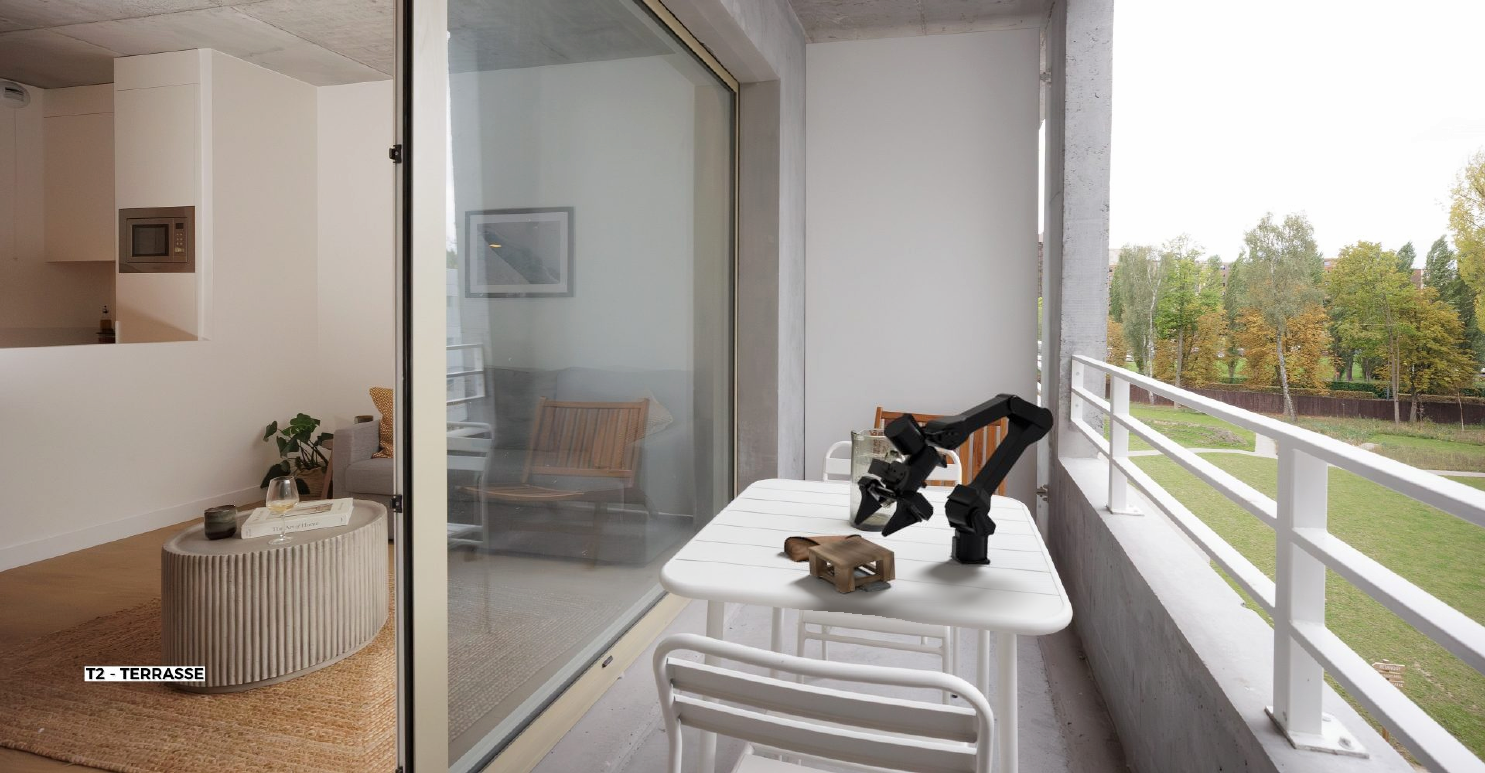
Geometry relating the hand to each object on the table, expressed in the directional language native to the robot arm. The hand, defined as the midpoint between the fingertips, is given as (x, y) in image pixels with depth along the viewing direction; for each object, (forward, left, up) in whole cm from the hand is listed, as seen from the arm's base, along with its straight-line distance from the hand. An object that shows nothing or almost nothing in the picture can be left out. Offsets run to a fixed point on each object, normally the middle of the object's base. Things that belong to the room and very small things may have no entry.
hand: (868, 529), depth 153 cm
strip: (+2, +1, -10) cm, 10 cm away
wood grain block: (-2, -1, -6) cm, 6 cm away
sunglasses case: (+5, -15, -10) cm, 19 cm away
